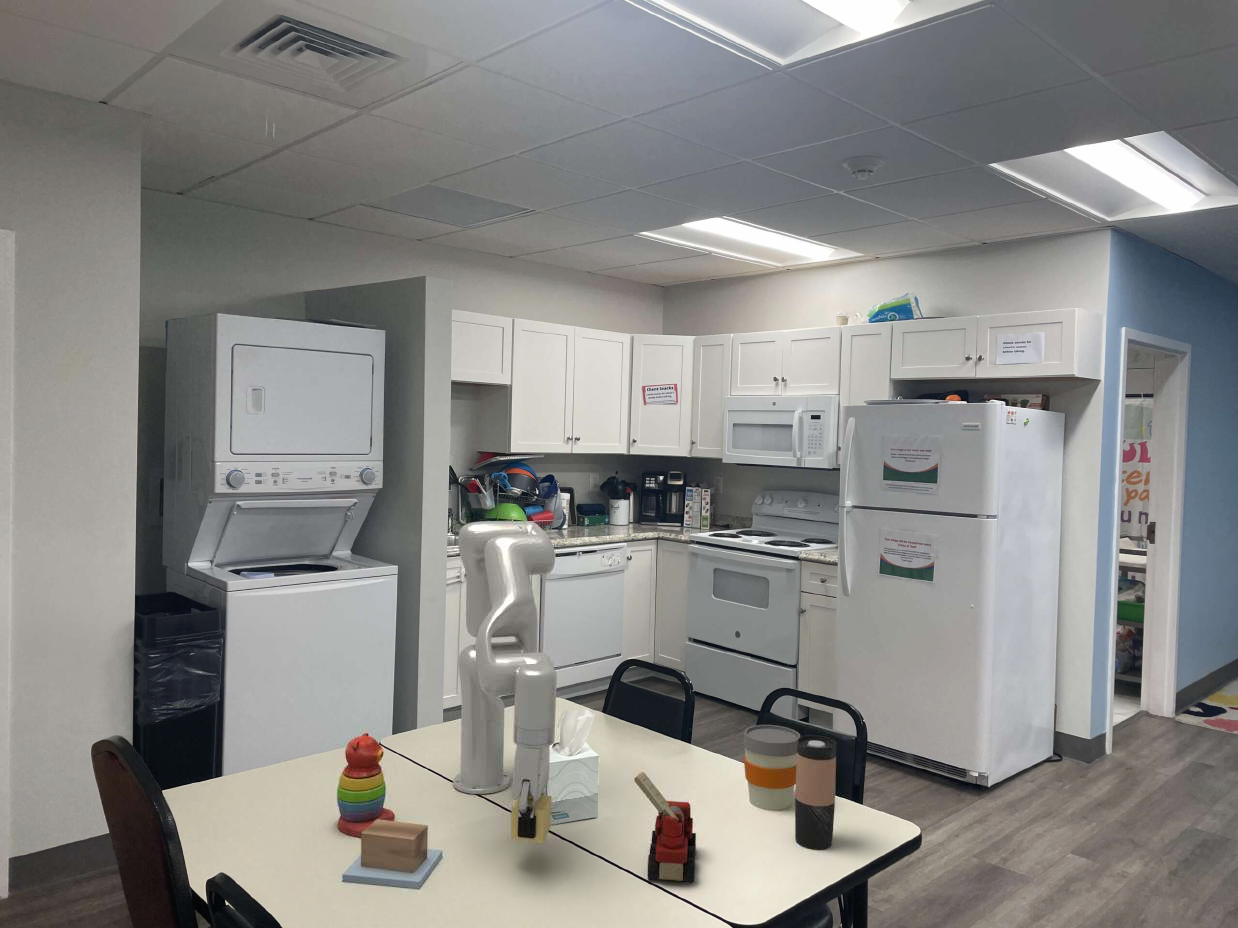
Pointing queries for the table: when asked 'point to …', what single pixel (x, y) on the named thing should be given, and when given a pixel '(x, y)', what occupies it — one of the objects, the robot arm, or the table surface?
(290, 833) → the table surface
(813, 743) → the travel mug
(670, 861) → the toy fire truck
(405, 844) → the long brick
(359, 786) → the stacking bear
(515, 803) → the cube brick
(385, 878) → the base board
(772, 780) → the reusable coffee cup
